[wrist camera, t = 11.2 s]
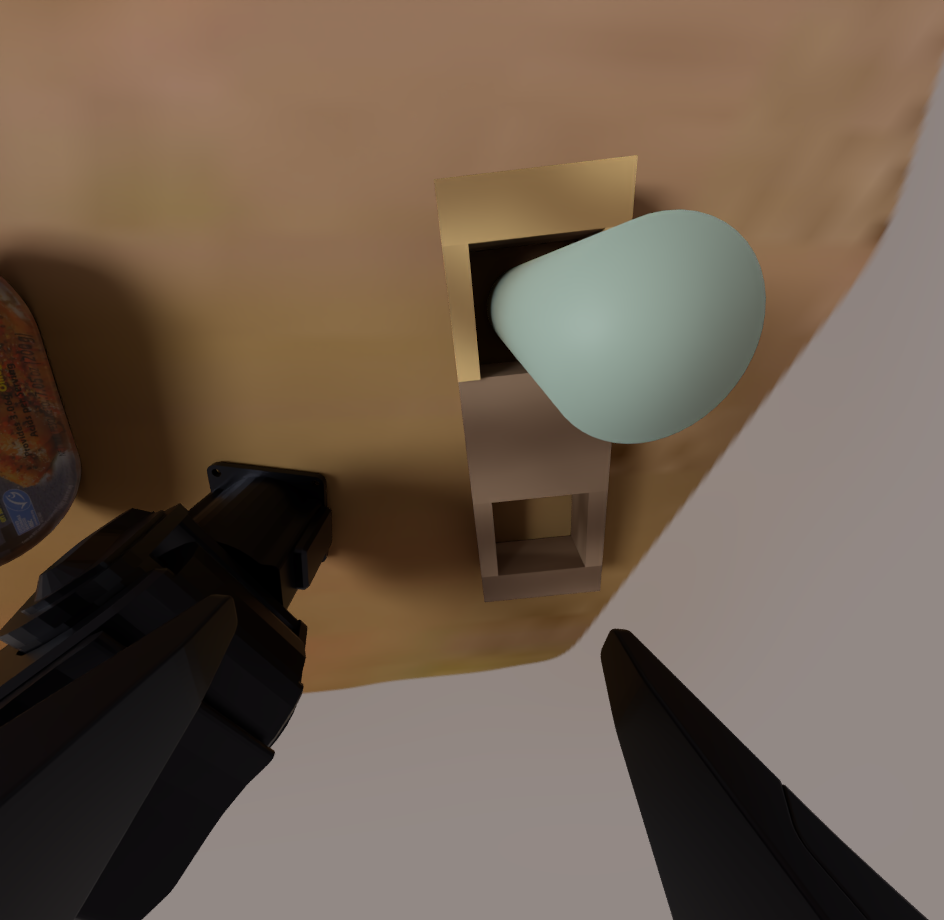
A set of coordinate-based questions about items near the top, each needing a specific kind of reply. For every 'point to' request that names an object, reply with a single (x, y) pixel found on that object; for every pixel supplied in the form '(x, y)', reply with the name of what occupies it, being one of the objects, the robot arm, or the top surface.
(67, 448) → the tin
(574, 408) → the post
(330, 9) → the top surface
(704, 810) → the robot arm
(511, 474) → the brown slotted board
